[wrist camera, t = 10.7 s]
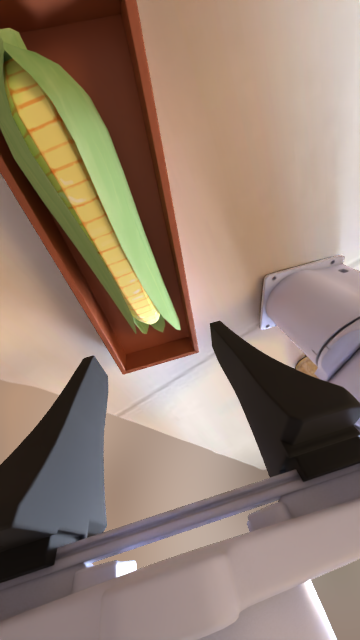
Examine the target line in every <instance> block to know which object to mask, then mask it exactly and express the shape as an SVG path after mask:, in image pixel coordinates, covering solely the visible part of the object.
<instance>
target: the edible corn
mask: <svg viewBox="0 0 360 640" xmlns="http://www.w3.org/2000/svg"><path fill="white" fill-rule="evenodd" d="M0 129H1V131H2V134H3V136H4V138H5V140H6V142H7V144H8V147H9V149H10V151H11V153H12V155H13V157H14V159H15V161H16V162H17V164H18V165H19V167H20V168H21V170H22V171H23V173H24V174H25V176H26V177H27V179H28V180H29V182H30V183H31V185H32V186H33V187H34V189H35V190H36V192H37V193H38V195H39V196H40V198H41V199H42V201H43V202H44V204H45V205H46V206H47V208H48V209H49V210H50V212H51V213H52V215H53V216H54V217H55V219H56V220H57V222H58V223H59V224H60V226H61V227H62V228H63V230H64V231H65V233H66V234H67V235H68V237H69V238H70V239H71V241H72V242H73V244H74V245H75V246H76V248H77V249H78V251H79V252H80V253H81V255H82V256H83V258H84V259H85V261H86V262H87V263H88V265H89V266H90V268H91V269H92V271H93V272H94V274H95V275H96V276H97V278H98V279H99V281H100V282H101V284H102V285H103V286H104V288H105V289H106V291H107V292H108V294H109V295H110V297H111V298H112V300H113V301H114V302H115V304H116V305H117V307H118V308H119V310H120V311H121V313H122V314H123V316H124V317H125V319H126V320H127V322H128V323H129V325H130V326H131V328H132V329H133V331H134V332H135V334H136V328H135V324H136V325H137V327H138V328H139V329H140V331H141V332H142V333H144V334H147V331H148V328H149V324H150V325H151V326H152V327H153V328H154V329H156V330H158V331H161V332H163V330H164V327H165V321H164V319H165V320H167V321H168V322H169V323H170V324H171V325H172V326H173V327H174V328H175V329H177V330H181V329H180V322H179V318H178V316H177V313H176V311H175V308H174V306H173V303H172V301H171V299H170V296H169V294H168V291H167V289H166V286H165V284H164V281H163V279H162V276H161V273H160V271H159V268H158V266H157V263H156V260H155V258H154V255H153V252H152V250H151V247H150V244H149V242H148V239H147V237H146V234H145V231H144V229H143V226H142V223H141V220H140V217H139V214H138V211H137V208H136V206H135V203H134V200H133V197H132V194H131V191H130V188H129V185H128V183H127V180H126V177H125V174H124V171H123V169H122V166H121V163H120V161H119V158H118V155H117V153H116V150H115V147H114V145H113V142H112V139H111V137H110V134H109V131H108V129H107V127H106V126H105V124H104V122H103V120H102V118H101V116H100V115H99V113H98V111H97V109H96V107H95V105H94V103H93V102H92V100H91V98H90V96H89V95H88V94H87V93H86V92H85V90H84V89H83V88H82V87H81V86H80V85H79V84H78V83H77V82H76V81H75V80H74V79H73V78H72V77H71V76H70V75H69V74H68V73H67V72H66V71H65V70H64V69H63V68H62V67H61V66H60V65H59V64H57V63H55V62H53V61H51V60H49V59H47V58H45V57H44V56H42V55H40V54H38V53H36V52H33V51H29V50H27V48H26V46H25V44H24V42H23V40H22V38H21V36H20V34H19V32H17V31H15V30H13V29H11V28H5V29H0ZM134 323H135V324H134Z"/></svg>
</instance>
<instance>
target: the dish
mask: <svg viewBox="0 0 360 640" xmlns="http://www.w3.org/2000/svg"><path fill="white" fill-rule="evenodd" d="M5 28H11V29H13V30H15V31H17V32H19V34H20V36H21V38H22V40H23V42H24V44H25V46H26V48H27V50H29V51H33V52H36V53H38V54H40V55H42V56H44V57H45V58H47V59H49V60H51V61H53V62H55V63H57V64H59V65H60V66H61V67H62V68H63V69H64V70H65V71H66V72H67V73H68V74H69V75H70V76H71V77H72V78H73V79H74V80H75V81H76V82H77V83H78V84H79V85H80V86H81V87H82V88H83V89H84V90H85V92H86V93H87V94H88V95H89V96H90V98H91V100H92V102H93V103H94V105H95V107H96V109H97V111H98V113H99V115H100V116H101V118H102V120H103V122H104V124H105V126H106V127H107V129H108V131H109V134H110V137H111V139H112V142H113V145H114V147H115V150H116V153H117V155H118V158H119V161H120V163H121V166H122V169H123V171H124V174H125V177H126V180H127V183H128V185H129V188H130V191H131V194H132V197H133V200H134V203H135V206H136V208H137V211H138V214H139V217H140V220H141V223H142V226H143V229H144V231H145V234H146V237H147V239H148V242H149V244H150V247H151V250H152V252H153V255H154V258H155V260H156V263H157V266H158V268H159V271H160V273H161V276H162V279H163V281H164V284H165V286H166V289H167V291H168V294H169V296H170V299H171V301H172V303H173V306H174V308H175V311H176V313H177V316H178V318H179V322H180V329H181V330H177V329H175V328H174V327H173V326H172V325H171V324H170V323H169V322H168V321H167V320H165V319H164V321H165V327H164V330H163V332H161V331H158V330H156V329H154V328H153V327H152V326H151V325H150V324H149V328H148V331H147V334H144V333H142V332H141V331H140V329H139V328H138V327H137V325H136V324H135V323H134V324H135V328H136V334H135V332H134V331H133V329H132V328H131V326H130V325H129V323H128V322H127V320H126V319H125V317H124V316H123V314H122V313H121V311H120V310H119V308H118V307H117V305H116V304H115V302H114V301H113V300H112V298H111V297H110V295H109V294H108V292H107V291H106V289H105V288H104V286H103V285H102V284H101V282H100V281H99V279H98V278H97V276H96V275H95V274H94V272H93V271H92V269H91V268H90V266H89V265H88V263H87V262H86V261H85V259H84V258H83V256H82V255H81V253H80V252H79V251H78V249H77V248H76V246H75V245H74V244H73V242H72V241H71V239H70V238H69V237H68V235H67V234H66V233H65V231H64V230H63V228H62V227H61V226H60V224H59V223H58V222H57V220H56V219H55V217H54V216H53V215H52V213H51V212H50V210H49V209H48V208H47V206H46V205H45V204H44V202H43V201H42V199H41V198H40V196H39V195H38V193H37V192H36V190H35V189H34V187H33V186H32V185H31V183H30V182H29V180H28V179H27V177H26V176H25V174H24V173H23V171H22V170H21V168H20V167H19V165H18V164H17V162H16V161H15V159H14V157H13V155H12V153H11V151H10V149H9V147H8V144H7V142H6V140H5V138H4V136H3V134H2V131H1V129H0V173H1V174H2V176H3V178H4V179H5V181H6V183H7V184H8V186H9V188H10V189H11V191H12V193H13V194H14V196H15V197H16V199H17V201H18V202H19V204H20V206H21V207H22V209H23V211H24V212H25V214H26V216H27V217H28V219H29V221H30V222H31V224H32V225H33V227H34V229H35V230H36V232H37V234H38V235H39V237H40V239H41V240H42V242H43V244H44V245H45V247H46V249H47V250H48V252H49V253H50V255H51V257H52V258H53V260H54V262H55V263H56V265H57V267H58V268H59V270H60V272H61V273H62V275H63V277H64V278H65V280H66V282H67V283H68V285H69V286H70V288H71V290H72V291H73V293H74V295H75V296H76V298H77V300H78V301H79V303H80V305H81V306H82V308H83V310H84V311H85V313H86V314H87V316H88V318H89V319H90V321H91V323H92V324H93V326H94V328H95V329H96V331H97V333H98V334H99V336H100V338H101V339H102V341H103V342H104V344H105V346H106V347H107V349H108V351H109V352H110V354H111V356H112V357H113V359H114V361H115V362H116V364H117V366H118V367H119V369H120V371H121V372H122V374H127V373H130V372H134V371H137V370H141V369H144V368H147V367H151V366H154V365H158V364H161V363H164V362H168V361H171V360H175V359H178V358H182V357H185V356H188V355H192V354H195V353H199V349H198V343H197V337H196V332H195V326H194V321H193V315H192V309H191V304H190V298H189V293H188V287H187V281H186V276H185V270H184V264H183V259H182V253H181V248H180V242H179V236H178V231H177V225H176V220H175V214H174V208H173V203H172V197H171V192H170V186H169V180H168V175H167V169H166V164H165V158H164V152H163V147H162V141H161V136H160V130H159V124H158V119H157V113H156V108H155V102H154V96H153V91H152V85H151V80H150V74H149V68H148V63H147V57H146V52H145V46H144V40H143V35H142V29H141V24H140V18H139V12H138V7H137V1H136V0H0V29H5Z"/></svg>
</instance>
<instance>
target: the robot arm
mask: <svg viewBox="0 0 360 640" xmlns="http://www.w3.org/2000/svg"><path fill="white" fill-rule="evenodd" d="M344 258H345V257H344V256H343V255H337V256H333V257H330V258H326V259H322V260H319V261H315V262H312V263H308V264H304V265H301V266H297V267H293V268H290V269H286V270H282V271H279V272H275V273H272V274H268V275H266V276H265V278H264V282H263V293H262V303H261V314H260V324H259V327H260V329H262V330H264V329H267V328H271V327H274V326H278V327H279V328H280V329H281V330H282V331H283V332H284V333H285V334H286V335H287V336H288V337H289V338H290V339H291V340H292V341H293V342H294V343H295V344H296V345H297V346H298V347H299V348H300V349H301V350H302V351H303V352H304V353H305V355H306V356H307V357H308V358H309V359H310V360H311V361H312V362H313V363H314V364H315V365H316V366H317V367H318V368H317V370H316V372H315V373H314V374H315V375H316V376H317V377H318V378H319V379H318V378H315V377H313V376H310V375H308V374H305V373H303V372H300V371H298V370H296V369H294V368H291V367H289V366H287V365H285V364H283V363H281V362H279V361H277V360H275V359H273V358H271V357H270V356H268V355H266V354H264V353H263V352H261V351H259V350H258V349H256V348H255V347H253V346H252V345H250V344H249V343H247V342H246V341H245V340H243V339H242V338H240V337H239V336H238V335H236V334H235V333H234V332H233V331H231V330H230V329H229V328H228V327H227V326H225V325H224V324H223V323H222V322H221V321H217V322H214V323H210V329H211V339H212V347H213V349H214V352H215V354H216V357H217V359H218V361H219V363H220V365H221V367H222V369H223V371H224V372H225V374H226V376H227V378H228V380H229V382H230V383H231V385H232V387H233V389H234V391H235V393H236V395H237V397H238V399H239V401H240V404H241V406H242V408H243V411H244V413H245V415H246V418H247V420H248V422H249V425H250V427H251V430H252V432H253V435H254V437H255V440H256V442H257V445H258V447H259V450H260V453H261V455H262V458H263V460H264V463H265V466H266V468H267V471H268V474H269V476H270V478H268V479H264V480H262V481H259V482H255V483H252V484H249V485H247V486H243V487H240V488H237V489H234V490H231V491H228V492H225V493H222V494H219V495H216V496H213V497H210V498H207V499H204V500H201V501H198V502H195V503H192V504H188V505H185V506H182V507H180V508H176V509H174V510H170V511H167V512H164V513H162V514H158V515H155V516H152V517H149V518H146V519H143V520H140V521H137V522H134V523H131V524H128V525H125V526H122V527H119V528H116V529H112V530H109V531H107V532H104V530H105V528H106V526H107V521H106V508H105V492H104V462H103V461H104V459H103V445H104V443H103V442H104V426H105V417H106V408H107V399H108V376H107V374H106V373H105V371H104V370H103V368H102V367H101V365H100V364H99V362H98V361H97V359H96V358H95V356H90V357H86V358H84V359H83V360H82V362H81V363H80V365H79V366H78V368H77V369H76V371H75V373H74V374H73V376H72V377H71V379H70V380H69V382H68V384H67V385H66V387H65V388H64V390H63V391H62V393H61V394H60V395H59V397H58V398H57V400H56V401H55V402H54V404H53V406H52V407H51V408H50V409H49V411H48V412H47V413H46V415H45V416H44V417H43V418H42V420H41V421H40V422H39V423H38V425H37V426H36V427H35V428H34V429H33V431H32V432H31V433H30V434H29V435H28V436H27V437H26V438H25V439H24V441H23V442H22V443H21V444H20V445H19V446H18V447H17V448H16V449H15V450H14V451H13V453H12V454H11V455H10V456H9V457H8V458H7V459H6V460H5V461H4V462H3V463H2V464H1V465H0V640H337V639H336V636H335V634H334V632H333V630H332V628H331V625H330V623H329V621H328V619H327V616H326V614H325V612H324V610H323V607H322V605H321V603H320V601H319V599H318V596H317V594H316V592H315V589H314V587H313V585H312V583H311V580H312V579H314V578H316V577H319V576H321V575H323V574H326V573H328V572H331V571H333V570H335V569H338V568H340V567H342V566H345V565H347V564H349V563H351V562H354V561H356V560H358V559H360V271H358V270H355V269H353V268H351V267H348V266H346V265H344V264H343V261H344ZM273 277H274V278H273ZM272 278H273V279H272ZM277 500H278V503H275V504H271V505H269V506H267V507H265V508H262V509H260V510H258V511H256V512H254V513H251V514H249V515H248V520H249V521H248V523H247V525H248V528H249V531H250V532H249V533H245V534H242V535H239V536H236V537H233V538H229V539H226V540H223V541H220V542H217V543H213V544H210V545H207V546H204V547H201V548H198V549H195V550H192V551H189V552H186V553H183V554H180V555H177V556H174V557H171V558H168V559H165V560H162V561H159V562H157V563H154V564H151V565H148V566H146V567H143V568H140V569H137V570H136V562H135V560H132V561H125V562H119V561H117V560H114V561H111V562H107V563H103V564H99V565H96V566H93V564H91V563H93V562H96V561H99V560H102V559H105V558H108V557H111V556H114V555H117V554H119V553H123V552H126V551H129V550H132V549H135V548H137V547H141V546H144V545H146V544H150V543H152V542H155V541H158V540H161V539H164V538H167V537H170V536H173V535H176V534H179V533H182V532H185V531H188V530H191V529H194V528H197V527H200V526H203V525H206V524H209V523H211V522H215V521H218V520H221V519H224V518H227V517H229V516H233V515H236V514H238V513H241V512H245V511H247V510H250V509H253V508H256V507H259V506H262V505H265V504H268V503H271V502H274V501H277Z"/></svg>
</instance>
